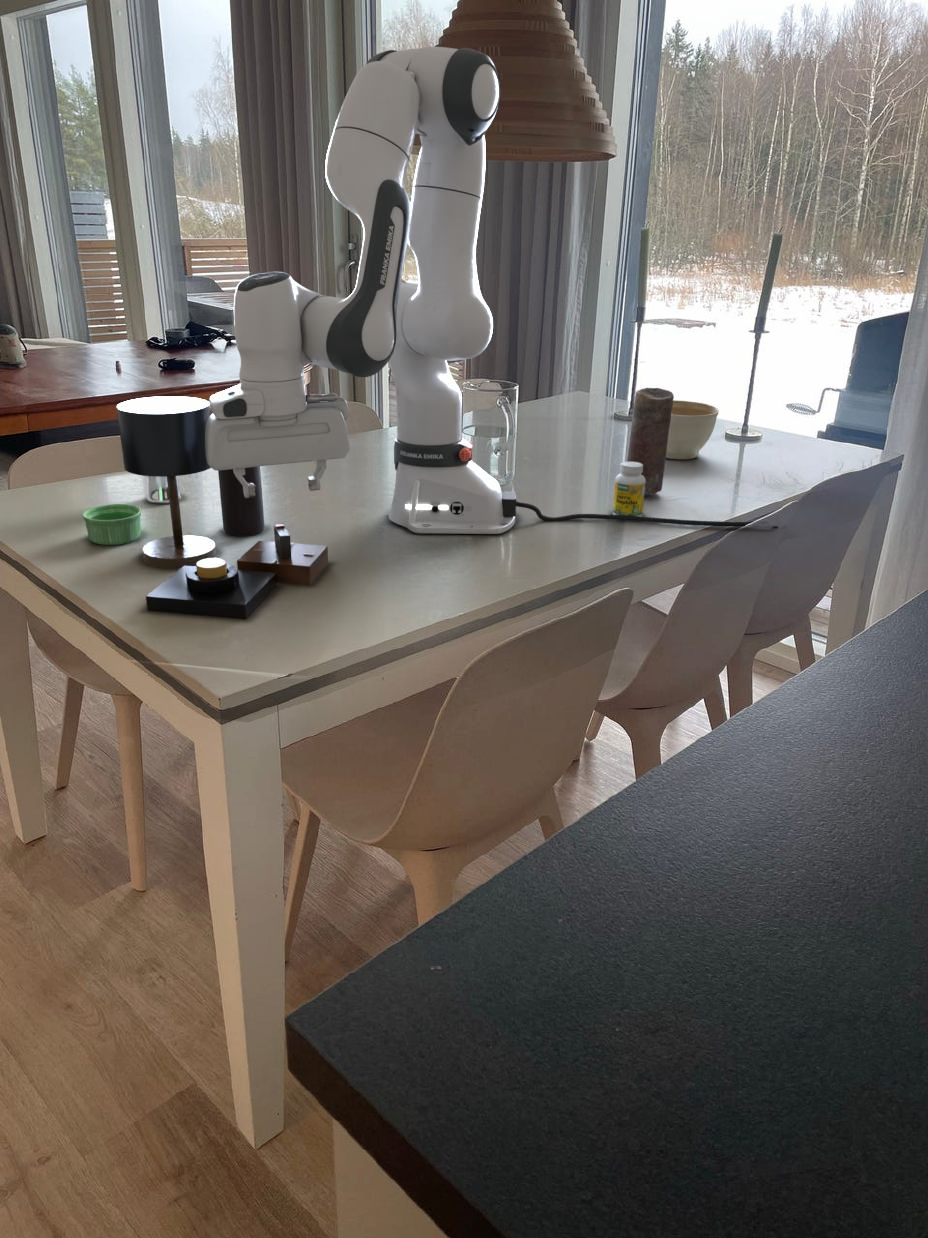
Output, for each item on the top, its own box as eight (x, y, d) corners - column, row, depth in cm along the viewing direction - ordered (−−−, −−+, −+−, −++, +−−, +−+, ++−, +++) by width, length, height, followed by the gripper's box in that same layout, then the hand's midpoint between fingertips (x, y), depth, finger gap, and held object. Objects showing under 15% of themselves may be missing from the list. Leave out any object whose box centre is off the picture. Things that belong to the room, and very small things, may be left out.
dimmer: (328, 564, 143) (327, 544, 142) (310, 585, 135) (309, 565, 134) (260, 558, 145) (259, 539, 143) (238, 579, 136) (236, 559, 135)
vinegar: (270, 532, 156) (262, 413, 148) (231, 539, 153) (220, 417, 145) (256, 521, 161) (247, 405, 153) (218, 527, 158) (207, 409, 150)
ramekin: (89, 549, 147) (85, 523, 145) (83, 532, 154) (80, 507, 152) (147, 542, 150) (144, 516, 149) (140, 526, 158) (137, 501, 156)
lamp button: (231, 570, 130) (230, 558, 129) (220, 581, 126) (219, 568, 126) (204, 568, 130) (203, 556, 130) (192, 578, 127) (191, 566, 126)
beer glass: (172, 505, 169) (163, 423, 163) (137, 502, 170) (127, 420, 164) (190, 495, 175) (182, 415, 169) (156, 492, 176) (147, 413, 170)
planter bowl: (627, 455, 211) (631, 406, 206) (662, 443, 222) (667, 397, 218) (690, 468, 201) (697, 417, 197) (724, 455, 213) (731, 407, 208)
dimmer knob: (291, 557, 137) (290, 533, 135) (281, 558, 136) (279, 534, 135) (285, 546, 141) (283, 523, 139) (275, 547, 140) (273, 524, 139)
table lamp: (235, 545, 150) (223, 398, 140) (202, 574, 138) (186, 415, 129) (160, 539, 152) (142, 394, 142) (120, 567, 140) (99, 410, 130)
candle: (666, 492, 184) (678, 389, 176) (657, 501, 178) (668, 395, 169) (628, 486, 187) (638, 385, 178) (618, 496, 180) (628, 391, 172)
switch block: (277, 586, 134) (275, 560, 133) (246, 620, 123) (244, 592, 122) (185, 579, 136) (182, 553, 135) (147, 611, 125) (143, 583, 124)
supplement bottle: (643, 513, 171) (649, 461, 167) (640, 521, 166) (645, 469, 162) (614, 510, 172) (619, 459, 168) (609, 518, 167) (614, 466, 163)
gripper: (341, 387, 135) (346, 479, 141) (197, 398, 129) (209, 494, 135) (352, 396, 130) (357, 491, 136) (202, 407, 124) (214, 507, 129)
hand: (282, 492), depth 135 cm, fingers open, 8 cm apart
